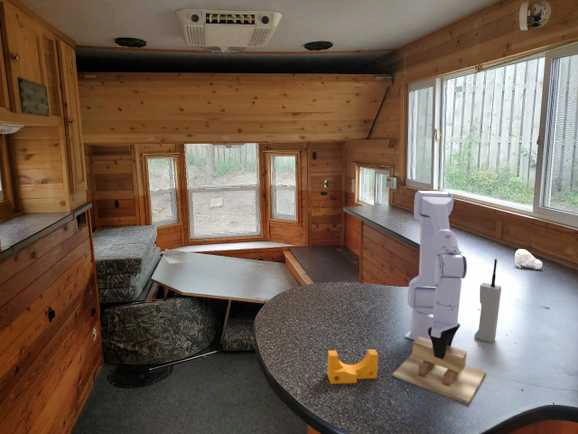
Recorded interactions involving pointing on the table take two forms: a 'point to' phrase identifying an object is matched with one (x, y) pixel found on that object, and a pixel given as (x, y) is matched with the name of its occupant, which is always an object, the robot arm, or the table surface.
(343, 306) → the table surface
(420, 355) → the oak beam
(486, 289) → the vintage mobile phone
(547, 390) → the table surface
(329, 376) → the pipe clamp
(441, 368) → the rail stand
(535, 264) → the white rough lump
